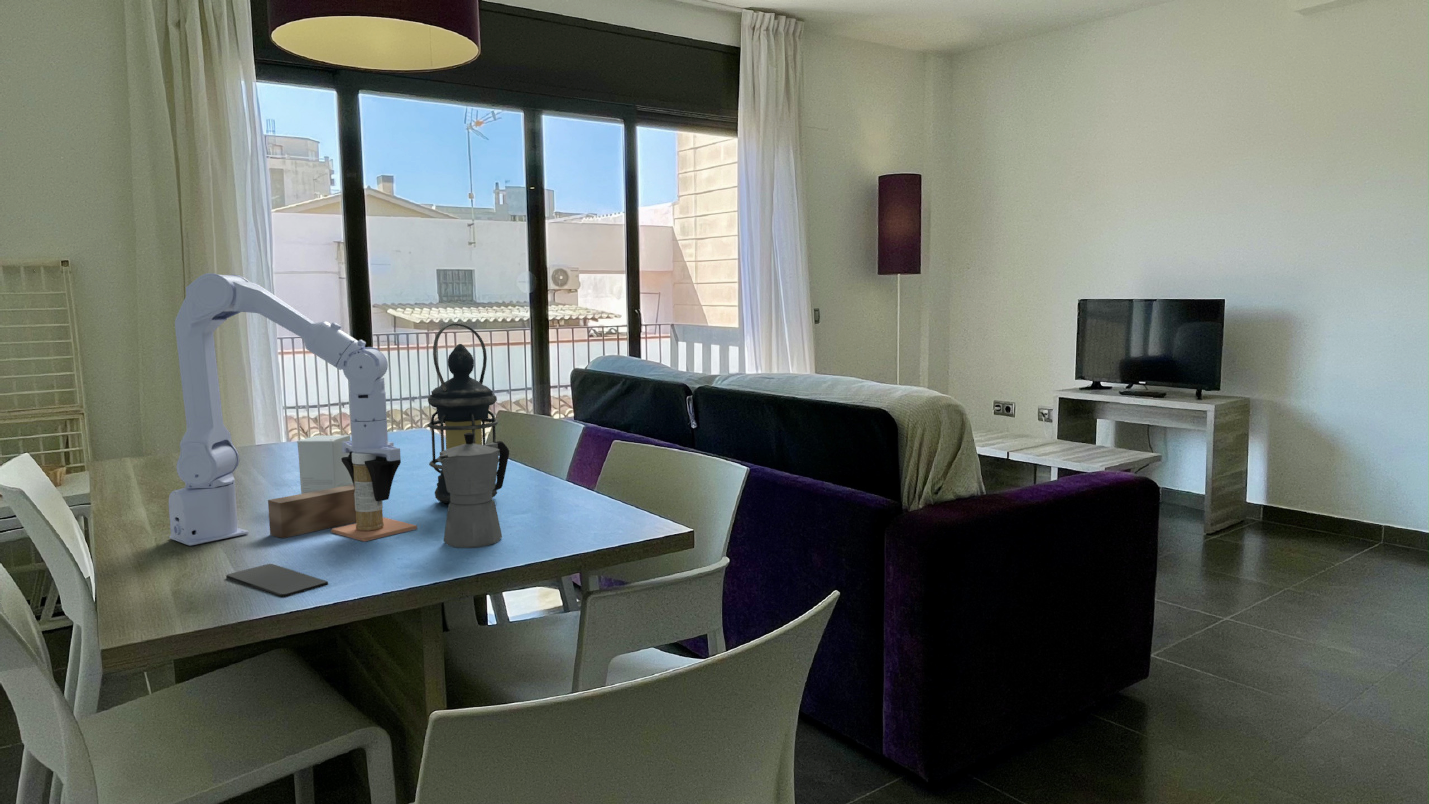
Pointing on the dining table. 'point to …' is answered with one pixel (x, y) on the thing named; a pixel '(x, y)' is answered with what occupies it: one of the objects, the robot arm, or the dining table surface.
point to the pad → (388, 529)
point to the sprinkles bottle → (365, 495)
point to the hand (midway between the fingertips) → (372, 498)
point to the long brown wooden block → (311, 511)
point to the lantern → (459, 406)
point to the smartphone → (276, 580)
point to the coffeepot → (473, 492)
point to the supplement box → (322, 463)
